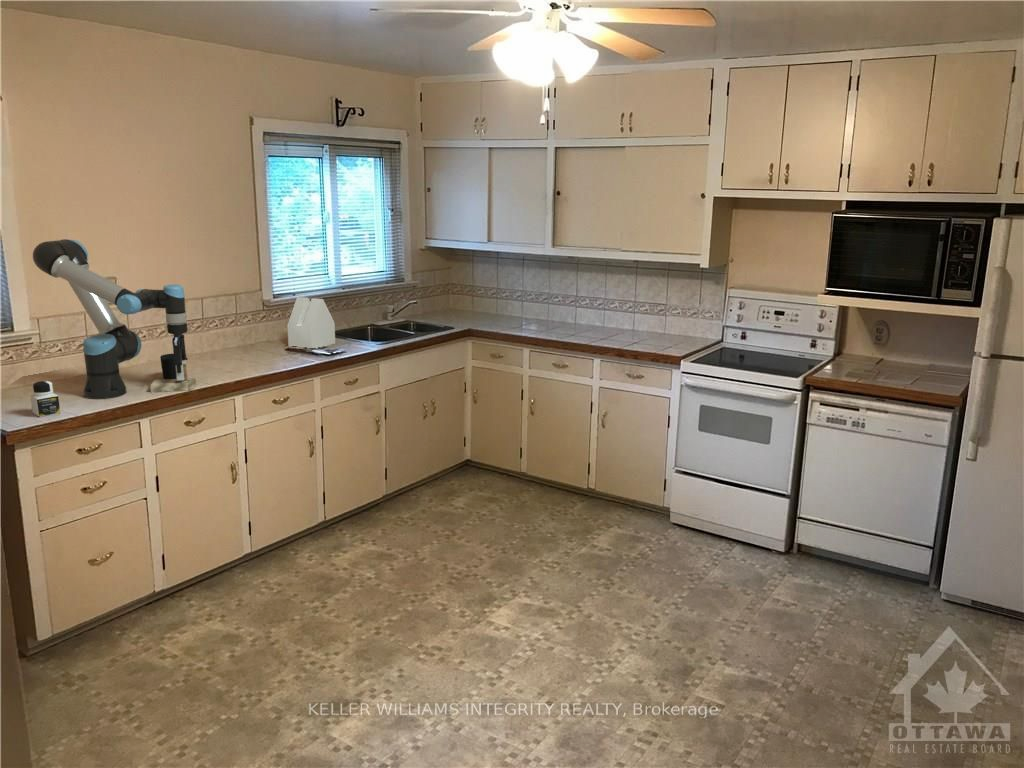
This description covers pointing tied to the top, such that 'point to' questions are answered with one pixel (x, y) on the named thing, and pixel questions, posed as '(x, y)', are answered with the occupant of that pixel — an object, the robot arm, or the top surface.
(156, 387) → the mottled green flat block
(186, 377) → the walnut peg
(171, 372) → the pen holder
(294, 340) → the white notched tapered block
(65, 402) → the top surface
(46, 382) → the medicine bottle
